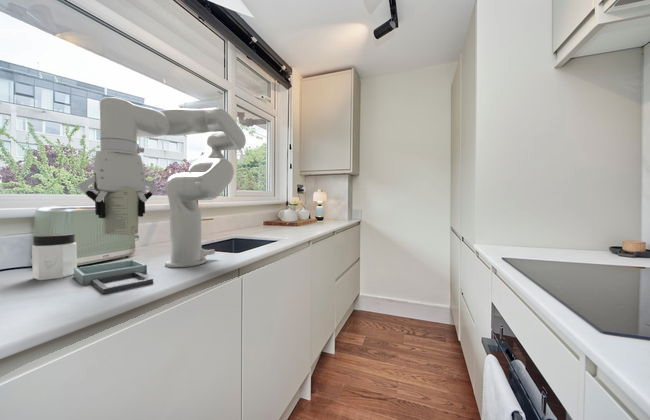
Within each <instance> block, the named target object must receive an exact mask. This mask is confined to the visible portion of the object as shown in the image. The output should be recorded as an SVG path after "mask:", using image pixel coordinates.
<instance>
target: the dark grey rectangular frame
mask: <svg viewBox="0 0 650 420" xmlns="http://www.w3.org/2000/svg"><path fill="white" fill-rule="evenodd" d="M130 278H136V279H137V280H136V281H131V282H125V283H122V284H117V285H116V284H115V285H112V286H107V285H105V284H104V283H109V282H110V283H111V282H115V281H121V280H125V279H130ZM152 284H154V279H153V278H152V277H150V276H147V274H142V273H140V272H138V271H137V272H131V273H126V274H120V275H114V276H109V277H103V278H97V279H92V280H91V284H90V285H91V286H92V287H94V288H95V289H97V291H99V292H100V294H102V295H106V294H111V293H116V292H119V291H120V292H121V291H126V290H130V289H134V288H139V287H143V286H147V285H152Z"/></svg>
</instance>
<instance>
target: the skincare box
mask: <svg viewBox="0 0 650 420" xmlns="http://www.w3.org/2000/svg"><path fill="white" fill-rule="evenodd" d="M103 202H105V218H102V235H104V236H105V235H106V236H107V235H109V236H131V235H137V234H138V233H139V216H138V206H139V197H138V195H137V192H136V191H135V189H133V188H120V190H119V191H117V192H108V193H107V194H106V195H105V197H104V198H103Z"/></svg>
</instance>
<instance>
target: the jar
mask: <svg viewBox="0 0 650 420" xmlns="http://www.w3.org/2000/svg"><path fill="white" fill-rule="evenodd" d="M75 235H76V234H75V233H73V232H61V233H60V232H59V233H56V232H55V233H46V234H45V233H43V234H36V235H34V236H32V241H33V243H32V245H31V256H32V257H31V258H32V260H31V261H32V262H31V263H32V264H31V266H32V279H35V280H36V281H47V280H55V279H64V278H66V277H70V276H74V275H73V274H74V268H78V254H77V253H78V252H77V249H78V248H77V245H78V244H77V242H76V238H75V237H76V236H75Z"/></svg>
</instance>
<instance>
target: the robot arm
mask: <svg viewBox="0 0 650 420" xmlns="http://www.w3.org/2000/svg"><path fill="white" fill-rule="evenodd" d="M98 107H99V108H98V109H99V111H98V113H99V133H100V134H99V136H100V139H99V140H100V151H96V152H95V156H94V163H93V171H92V172H93V173H92V176H91V177H89V178H87V179H85V180H84V181H82V182H80V183H78V184H77V185H76V186H77V188H78V189H79V190H80V191H81V192H82V193H84V195H85V196H87V197H88V198H89V199H90V200H92V201H93V202H94V205H95V206H94V207H95V211H94V212H95V216H98V217H97V218H99V219H103V218H105V202H104V197H105V195H106V194H107V193H108V192H117V191H119V190H120V188H133V189H135V191H136V192H137V195H138V197H139V206H138V218H140V217H144V214H145V213H146V202H147V200H149V199H150V198H152V197H153V194H154V193H155V192H156V191H157V190H158V187H157V186H155V185H154V184H153V183H151V182H150V181H149V180H147V178H146V175H145V168H144V164H143V160H142V156H141V155H139V153H140V154H141V153H143V154H144V152H145V148H144V147H141V146H140V144H139V139H140V138H157V137H162V136H163V137H164V136H171V137H172V136H174V137H175V136H176V137H177V136H188V135H198V134H206V133H207V134H206V135H205V137H204V138H205V139H204V145H205V153H204V154H203V155H202V156H201V157H200V158H198V159H197V160H196V161H194V162H193V163H192V164H191V165H190V166H189V169H188V172H178V173H175V174H172V175H171V176H169V178H168V179H167V181H166V183H165V190H166V194H167V198H168V202H169V227H170V228H169V236H170V237H169V238H170V239H169V240H170V243H169V244H170V247H169V248H170V251H169V252H170V259H168V260H166V261H165V262H164V266H165V267H168V268H187V267H193V266H194V267H195V266H199V265H203V264H205V263H206V262H207V257H208V256H211V255H215V254H216V252H215V251H216V250H215V249H214V248H213V249H205V248H202V211H201V208H200V206H199V205H198V203H197V201H212V200H215V199H217V198H218V197H219V196H220V195H221V194H222V193H223V192H224V190H225V189H226V188H227V187H228V186H229V184H230V183H231V182H232V180H233V178H234V171H235V170H234V167H233V165H232V162H230V161H229V160H228V159H226V158H225V156H224V154H223V153H222V151H235V150H236V151H237V150H242V149H243V148H245V146H246V144H247V143H246V142H247V141H246V140H247V139H246V136H245V135H246V134H244V132H243V130H242V129H241V127H240V126H239V125H238V123H237V122H236V120H234V118H233V116H231V115H230V113H228V111H226V110H225V109H224V108H220V107H216V108H215V107H214V108H212V107H211V108H200V109H199V108H171V109H170V108H169V109H163V110H162V109H161V110H156V109H154V108H149V107H145V106H141V105H137V104H134V103H132V102H131V101H129V100H126V99H123V98H120V97H114V96H107V97H106V96H105V97H103V98H101V99H100V100H99V105H98ZM138 138H139V139H138ZM90 185H92V188H93V190H94V191H96V192H94V191H92V190H91V189H90V188H89V186H90ZM146 189H148V190H147V191H146V192H145V193H144V191H145V190H146Z"/></svg>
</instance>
